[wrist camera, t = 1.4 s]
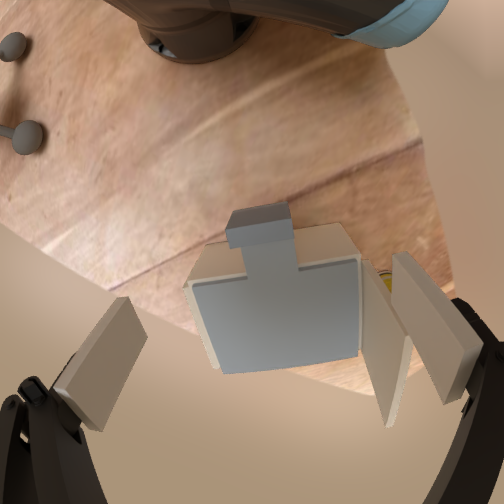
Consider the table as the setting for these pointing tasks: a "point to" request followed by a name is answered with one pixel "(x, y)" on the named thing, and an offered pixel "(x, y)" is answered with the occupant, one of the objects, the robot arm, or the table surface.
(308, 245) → the carton
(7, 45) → the molecular model
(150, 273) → the table surface
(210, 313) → the flap
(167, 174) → the table surface
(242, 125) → the table surface
